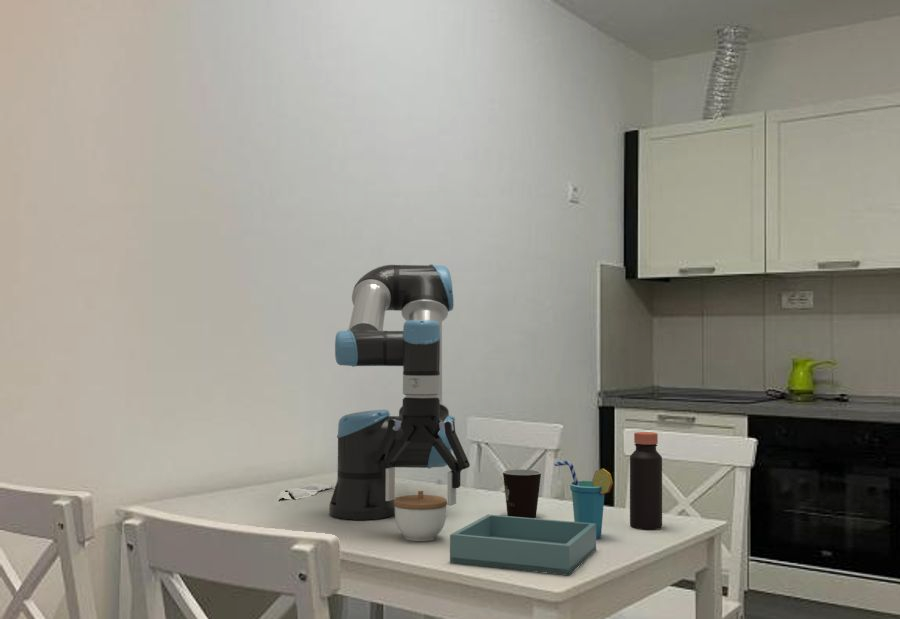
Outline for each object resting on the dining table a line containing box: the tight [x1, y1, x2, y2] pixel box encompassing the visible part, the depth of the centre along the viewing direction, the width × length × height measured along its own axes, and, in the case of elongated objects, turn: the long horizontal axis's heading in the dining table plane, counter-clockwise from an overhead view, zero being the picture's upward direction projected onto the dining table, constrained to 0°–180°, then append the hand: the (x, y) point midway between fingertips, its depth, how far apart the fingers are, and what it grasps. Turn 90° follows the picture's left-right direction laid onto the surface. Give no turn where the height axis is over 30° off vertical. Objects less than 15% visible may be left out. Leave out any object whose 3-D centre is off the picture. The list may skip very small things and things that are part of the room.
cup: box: [553, 460, 614, 540], centre depth 185 cm, size 14×8×15 cm, turn 53°
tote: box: [449, 514, 597, 576], centre depth 168 cm, size 22×20×5 cm
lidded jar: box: [394, 490, 448, 542], centre depth 183 cm, size 11×11×9 cm
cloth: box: [278, 483, 333, 500], centre depth 233 cm, size 26×14×2 cm, turn 147°
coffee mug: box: [502, 468, 542, 519], centre depth 206 cm, size 12×9×10 cm
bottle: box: [629, 431, 663, 531], centre depth 194 cm, size 7×7×20 cm
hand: (420, 502), depth 182 cm, fingers open, 13 cm apart
